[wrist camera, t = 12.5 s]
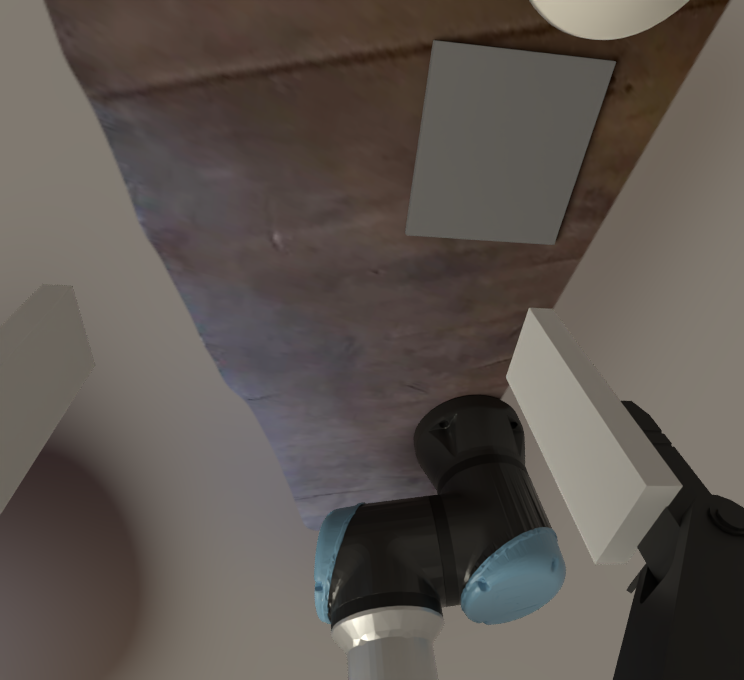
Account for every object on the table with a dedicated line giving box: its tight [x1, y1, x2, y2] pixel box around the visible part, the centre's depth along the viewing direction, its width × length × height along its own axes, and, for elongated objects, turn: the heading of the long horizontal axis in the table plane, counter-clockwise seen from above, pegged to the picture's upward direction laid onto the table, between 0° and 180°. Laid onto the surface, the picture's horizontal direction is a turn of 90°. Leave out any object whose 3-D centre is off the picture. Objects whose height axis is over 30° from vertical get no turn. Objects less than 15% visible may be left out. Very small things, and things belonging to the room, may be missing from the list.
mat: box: [405, 40, 616, 245], centre depth 46 cm, size 17×16×1 cm
